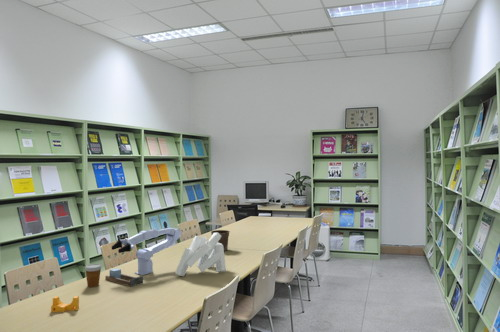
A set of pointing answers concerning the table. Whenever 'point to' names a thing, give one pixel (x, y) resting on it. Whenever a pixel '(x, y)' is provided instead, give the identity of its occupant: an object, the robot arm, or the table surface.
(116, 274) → the block
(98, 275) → the disposable coffee cup
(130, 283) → the guide rail
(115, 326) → the table surface
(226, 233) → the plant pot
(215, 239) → the pile of blocks
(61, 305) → the pipe clamp
